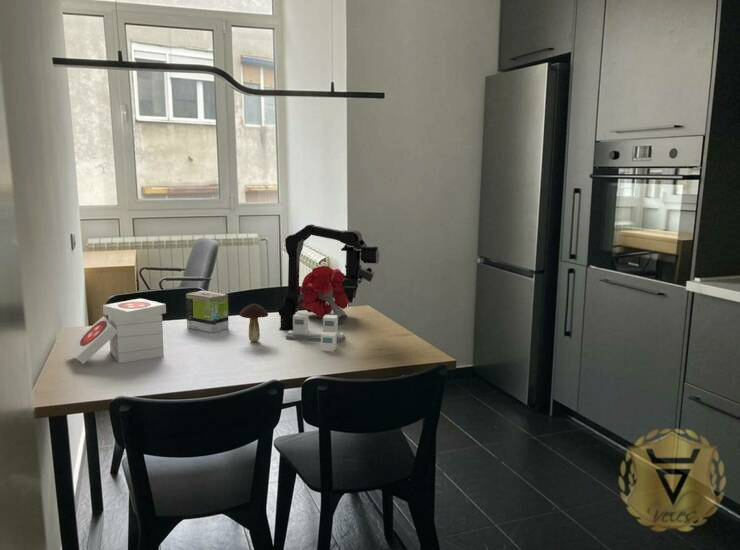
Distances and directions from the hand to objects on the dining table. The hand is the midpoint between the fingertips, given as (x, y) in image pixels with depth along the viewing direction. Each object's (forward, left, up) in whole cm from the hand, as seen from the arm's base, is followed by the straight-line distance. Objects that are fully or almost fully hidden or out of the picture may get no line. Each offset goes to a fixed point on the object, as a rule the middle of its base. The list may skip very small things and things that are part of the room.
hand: (352, 300), depth 241 cm
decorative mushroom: (-35, -18, -14) cm, 42 cm away
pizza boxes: (-75, -44, -14) cm, 89 cm away
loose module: (-5, -22, -14) cm, 27 cm away
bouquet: (-15, +26, -14) cm, 33 cm away
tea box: (-60, -2, -14) cm, 62 cm away
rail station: (-13, -8, -14) cm, 21 cm away
